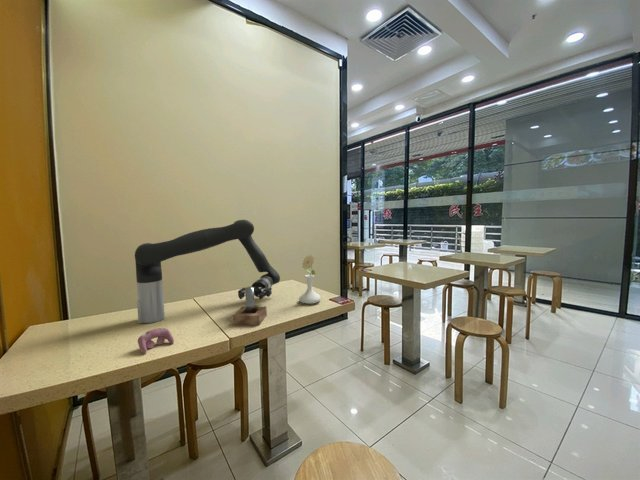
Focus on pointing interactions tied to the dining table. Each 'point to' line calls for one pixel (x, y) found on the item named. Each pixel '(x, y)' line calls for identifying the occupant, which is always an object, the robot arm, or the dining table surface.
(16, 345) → the dining table surface
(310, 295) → the flower in vase
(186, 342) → the dining table surface
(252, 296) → the metal rod
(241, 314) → the square wooden ashtray
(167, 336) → the pink curved piece
